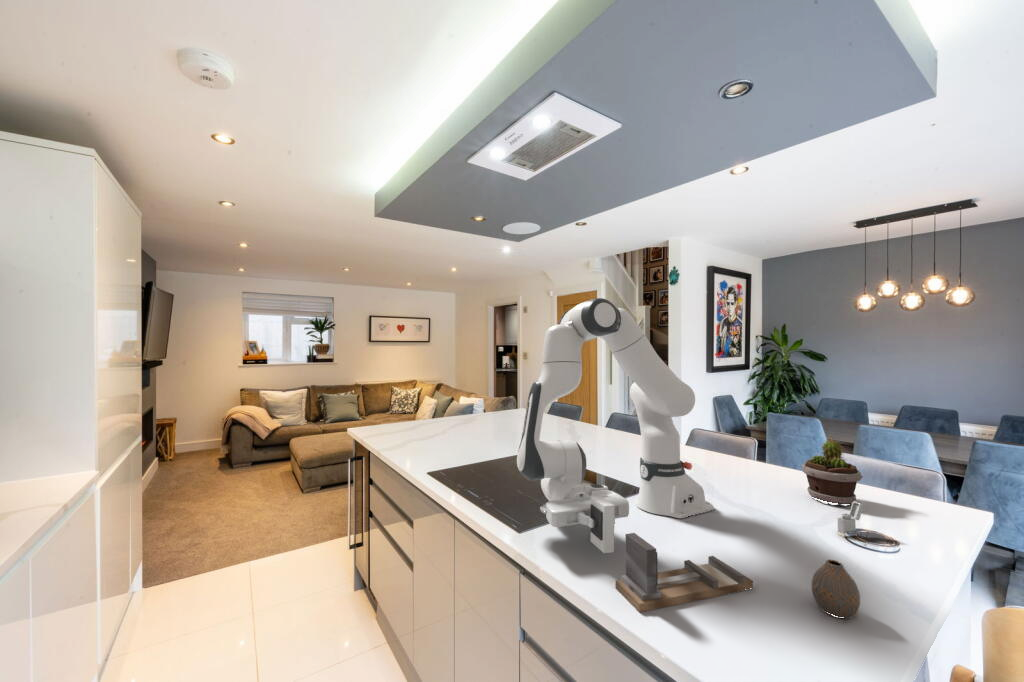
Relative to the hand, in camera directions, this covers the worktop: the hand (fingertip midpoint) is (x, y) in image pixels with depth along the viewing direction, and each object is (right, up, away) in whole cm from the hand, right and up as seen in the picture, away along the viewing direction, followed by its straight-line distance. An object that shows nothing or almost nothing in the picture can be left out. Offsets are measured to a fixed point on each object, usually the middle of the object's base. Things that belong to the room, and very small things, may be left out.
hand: (603, 522), depth 91 cm
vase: (+38, -9, -17) cm, 43 cm away
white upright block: (0, -6, +1) cm, 6 cm away
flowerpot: (+81, -11, +39) cm, 90 cm away
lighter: (+67, -10, +15) cm, 69 cm away
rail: (+14, -9, -10) cm, 19 cm away
